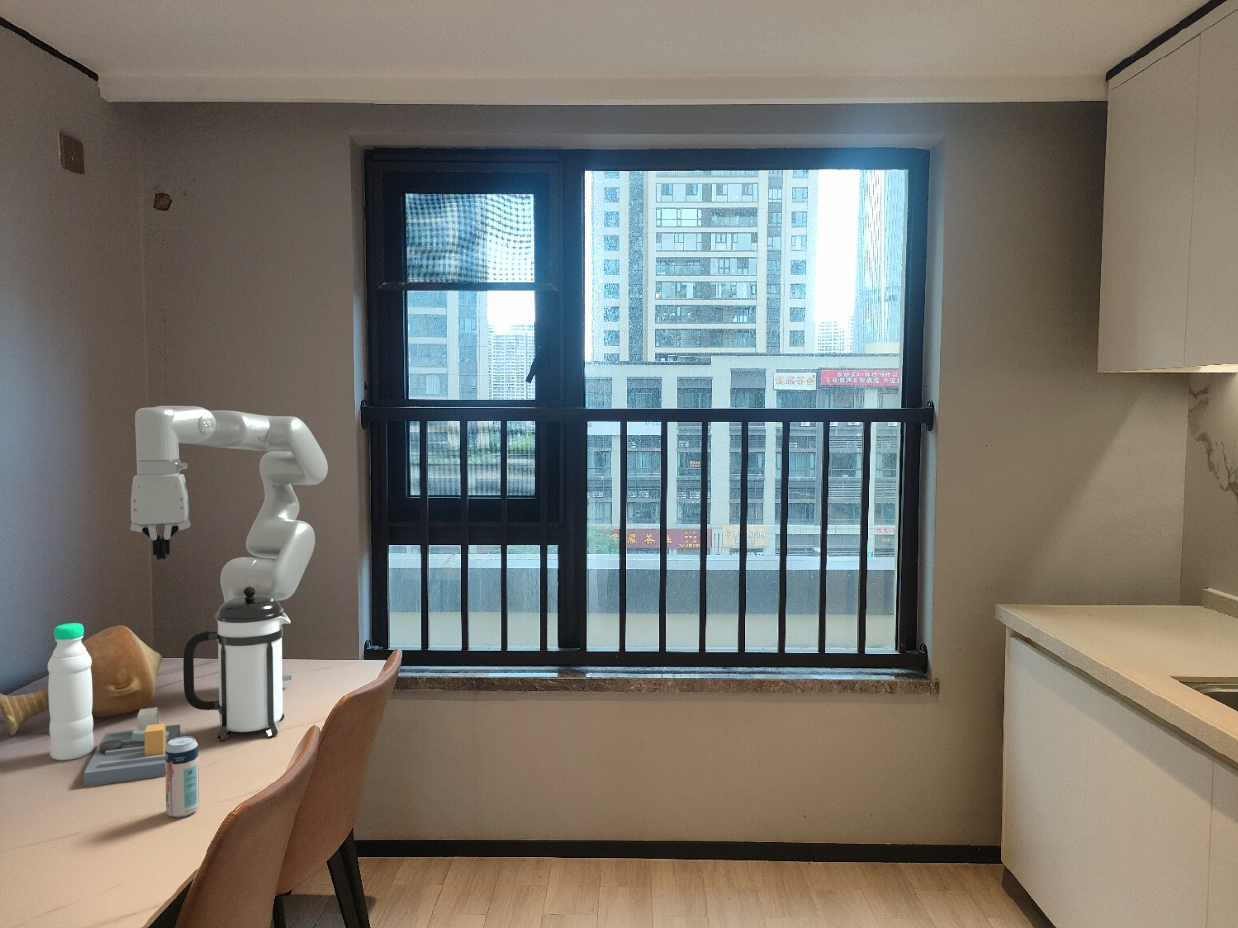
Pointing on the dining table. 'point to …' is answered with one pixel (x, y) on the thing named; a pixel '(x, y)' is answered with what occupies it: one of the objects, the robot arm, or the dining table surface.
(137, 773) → the panel
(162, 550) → the robot arm
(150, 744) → the orange fader
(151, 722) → the ivory fader
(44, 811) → the dining table surface
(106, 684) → the jug
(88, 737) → the water bottle
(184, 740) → the beer can
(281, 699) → the coffee press
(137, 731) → the block
